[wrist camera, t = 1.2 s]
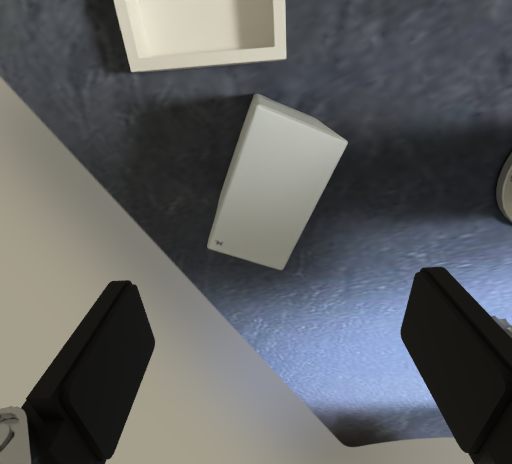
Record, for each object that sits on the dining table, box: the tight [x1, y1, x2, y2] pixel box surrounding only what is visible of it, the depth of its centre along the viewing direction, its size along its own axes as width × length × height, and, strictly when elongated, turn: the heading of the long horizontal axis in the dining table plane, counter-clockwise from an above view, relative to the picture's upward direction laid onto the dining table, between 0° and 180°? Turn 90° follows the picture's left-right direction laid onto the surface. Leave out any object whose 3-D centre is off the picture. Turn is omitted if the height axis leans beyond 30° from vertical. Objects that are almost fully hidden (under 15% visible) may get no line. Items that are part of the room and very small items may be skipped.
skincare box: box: [207, 94, 348, 270], centre depth 23 cm, size 10×6×10 cm, turn 160°
